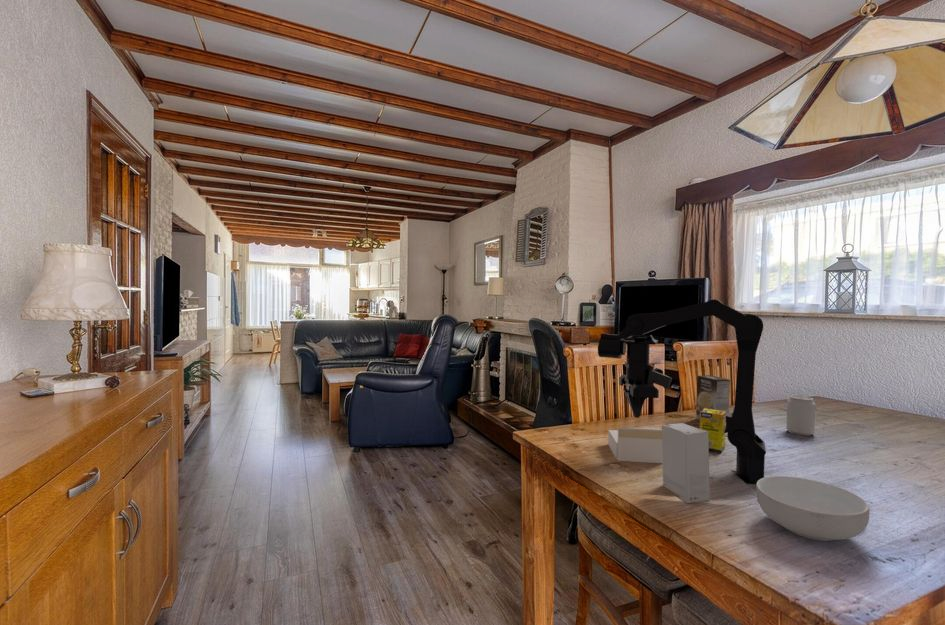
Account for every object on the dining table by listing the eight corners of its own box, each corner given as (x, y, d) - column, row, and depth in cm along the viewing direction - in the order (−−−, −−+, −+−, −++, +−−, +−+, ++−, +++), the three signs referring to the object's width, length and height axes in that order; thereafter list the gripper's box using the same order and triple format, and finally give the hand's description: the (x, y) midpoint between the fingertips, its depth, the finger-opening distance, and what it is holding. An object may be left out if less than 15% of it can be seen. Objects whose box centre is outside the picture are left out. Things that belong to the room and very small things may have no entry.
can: (781, 429, 148) (782, 393, 148) (805, 430, 147) (806, 394, 147) (794, 435, 141) (795, 398, 141) (820, 437, 140) (821, 399, 140)
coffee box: (694, 419, 160) (695, 375, 159) (708, 418, 162) (710, 374, 161) (714, 426, 151) (716, 379, 151) (729, 424, 153) (731, 379, 152)
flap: (664, 465, 112) (665, 430, 112) (618, 462, 114) (618, 427, 113) (663, 464, 113) (664, 429, 113) (617, 461, 115) (618, 426, 114)
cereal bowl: (769, 501, 93) (771, 468, 93) (875, 532, 81) (876, 495, 81) (742, 527, 82) (743, 489, 82) (859, 568, 70) (860, 524, 70)
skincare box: (710, 502, 92) (712, 432, 92) (685, 504, 91) (687, 433, 91) (682, 485, 101) (684, 421, 100) (659, 487, 99) (661, 422, 99)
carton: (663, 464, 114) (664, 445, 113) (616, 461, 115) (616, 442, 115) (651, 449, 125) (651, 432, 125) (608, 446, 127) (608, 429, 127)
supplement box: (722, 453, 123) (723, 414, 123) (698, 449, 126) (699, 411, 126) (725, 448, 128) (726, 410, 127) (702, 443, 131) (703, 407, 131)
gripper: (680, 365, 108) (679, 428, 109) (658, 356, 127) (657, 410, 127) (634, 364, 110) (632, 426, 110) (619, 355, 128) (618, 408, 129)
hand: (636, 417), depth 119 cm, fingers closed
